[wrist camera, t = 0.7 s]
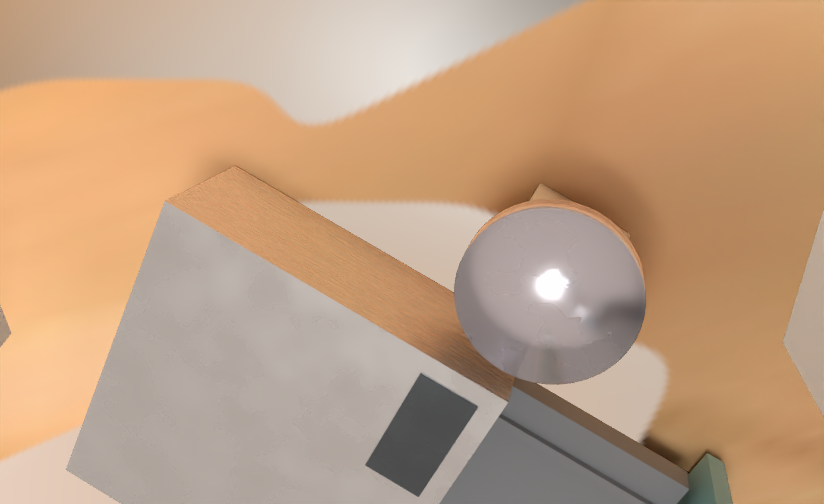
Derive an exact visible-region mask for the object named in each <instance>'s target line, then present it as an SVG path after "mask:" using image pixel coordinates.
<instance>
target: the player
mask: <svg viewBox="0 0 824 504" xmlns="http://www.w3.org/2000/svg"><path fill="white" fill-rule="evenodd" d="M514 379H515V377H514V376H512V375H510V374H508V373H506V372H504V371H502V370H500V369H499V368H497V367H496V366H494V365H493V364H491V363H490V362H489V361H488V360H486V359H485V358H484V357H483V356H482V355H481V354H480V353H479V352H478V351H477V350H476V349H475V348H474V346H473V345H472V344H471V342H470V341H469V339H468V338H467V336H466V334H465V333H464V331H463V329H462V327H461V324H460V322H459V319H458V316H457V312H456V308H455V300H454V292H452V291H450V290H448V289H447V288H445V287H443V286H441V285H440V284H438V283H436V282H435V281H433V280H431V279H429V278H428V277H426V276H424V275H423V274H421V273H419V272H417V271H415V270H414V269H412V268H410V267H409V266H407V265H405V264H404V263H402V262H400V261H398V260H397V259H395V258H393V257H391V256H390V255H388V254H386V253H385V252H383V251H381V250H380V249H378V248H376V247H374V246H372V245H371V244H369V243H367V242H366V241H364V240H362V239H360V238H359V237H357V236H355V235H353V234H351V233H350V232H348V231H347V230H345V229H343V228H341V227H340V226H338V225H336V224H335V223H333V222H331V221H330V220H328V219H326V218H324V217H323V216H321V215H319V214H318V213H316V212H314V211H312V210H311V209H309V208H307V207H305V206H304V205H302V204H300V203H299V202H297V201H295V200H293V199H292V198H290V197H288V196H287V195H285V194H283V193H281V192H280V191H278V190H276V189H275V188H273V187H271V186H269V185H268V184H266V183H264V182H262V181H261V180H259V179H257V178H256V177H254V176H252V175H250V174H249V173H247V172H245V171H244V170H242V169H240V168H238V167H237V166H234V167H232V168H230V169H228V170H226V171H224V172H222V173H220V174H218V175H216V176H214V177H212V178H210V179H208V180H206V181H204V182H202V183H200V184H198V185H196V186H194V187H192V188H190V189H188V190H186V191H184V192H182V193H180V194H178V195H176V196H174V197H172V198H170V199H168V200H166V201H165V202H164V205H163V208H162V210H161V213H160V216H159V219H158V221H157V224H156V227H155V229H154V232H153V235H152V238H151V240H150V243H149V246H148V248H147V251H146V254H145V257H144V259H143V262H142V265H141V267H140V270H139V273H138V276H137V278H136V281H135V284H134V286H133V289H132V292H131V295H130V297H129V300H128V303H127V305H126V308H125V311H124V314H123V316H122V319H121V322H120V324H119V327H118V330H117V333H116V335H115V338H114V341H113V343H112V346H111V349H110V352H109V354H108V357H107V360H106V362H105V365H104V368H103V371H102V373H101V376H100V379H99V381H98V384H97V387H96V390H95V392H94V395H93V398H92V400H91V403H90V406H89V409H88V411H87V414H86V417H85V419H84V422H83V425H82V428H81V430H80V433H79V436H78V438H77V441H76V444H75V447H74V449H73V452H72V455H71V457H70V460H69V463H68V466H67V468H66V470H67V471H69V472H71V473H72V474H74V475H75V476H77V477H79V478H80V479H82V480H83V481H85V482H87V483H88V484H90V485H92V486H93V487H95V488H97V489H98V490H100V491H101V492H103V493H105V494H106V495H108V496H110V497H111V498H113V499H114V500H116V501H118V502H119V503H121V504H439V503H440V502H441V500H442V499H443V497H444V496H445V494H446V493H447V492H448V490H449V489H450V487H451V486H452V484H453V483H454V481H455V480H456V478H457V477H458V475H459V474H460V472H461V471H462V470H463V468H464V467H465V465H466V464H467V462H468V461H469V459H470V458H471V456H472V455H473V453H474V452H475V451H476V449H477V448H478V446H479V445H480V443H481V442H482V440H483V439H484V437H485V436H486V434H487V433H488V431H489V430H490V429H491V427H492V426H493V424H494V423H495V421H496V420H497V418H498V417H499V415H500V414H501V412H502V411H503V409H504V408H505V407H506V405H507V404H508V402H509V398H510V394H511V390H512V386H513V382H514Z"/></svg>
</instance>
